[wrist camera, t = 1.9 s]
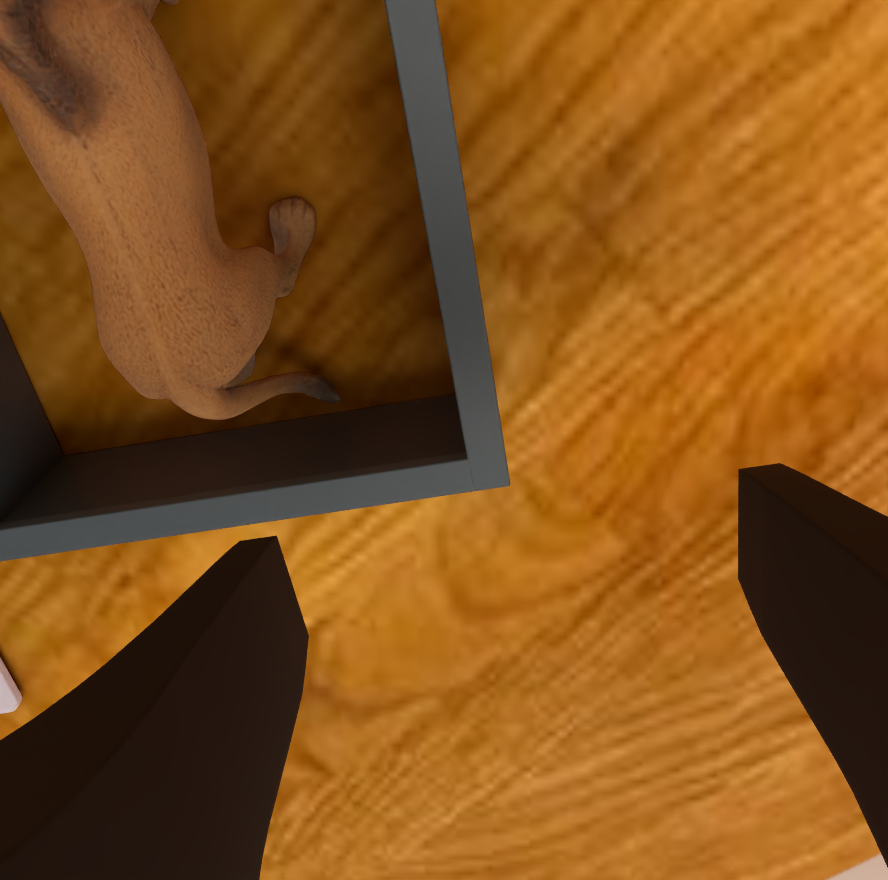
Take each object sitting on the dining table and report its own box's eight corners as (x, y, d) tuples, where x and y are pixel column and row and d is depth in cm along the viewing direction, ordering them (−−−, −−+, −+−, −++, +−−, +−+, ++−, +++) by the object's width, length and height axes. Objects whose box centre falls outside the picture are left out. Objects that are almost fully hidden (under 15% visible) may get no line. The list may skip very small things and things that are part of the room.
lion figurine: (-112, -126, 16) (-669, -316, 8) (86, -275, 15) (-330, -666, 7) (265, 429, 22) (159, 641, 14) (428, 350, 21) (416, 531, 13)
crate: (49, 483, 23) (-31, 566, 19) (-308, -280, 15) (-560, -395, 11) (499, 413, 22) (510, 486, 18) (366, -449, 14) (336, -640, 10)
